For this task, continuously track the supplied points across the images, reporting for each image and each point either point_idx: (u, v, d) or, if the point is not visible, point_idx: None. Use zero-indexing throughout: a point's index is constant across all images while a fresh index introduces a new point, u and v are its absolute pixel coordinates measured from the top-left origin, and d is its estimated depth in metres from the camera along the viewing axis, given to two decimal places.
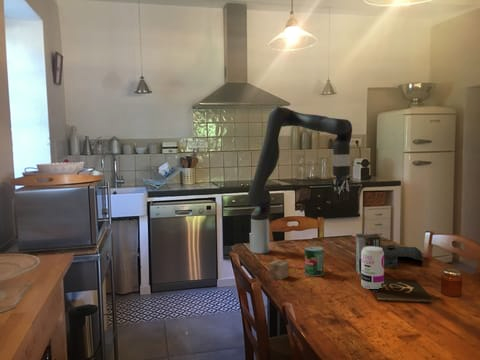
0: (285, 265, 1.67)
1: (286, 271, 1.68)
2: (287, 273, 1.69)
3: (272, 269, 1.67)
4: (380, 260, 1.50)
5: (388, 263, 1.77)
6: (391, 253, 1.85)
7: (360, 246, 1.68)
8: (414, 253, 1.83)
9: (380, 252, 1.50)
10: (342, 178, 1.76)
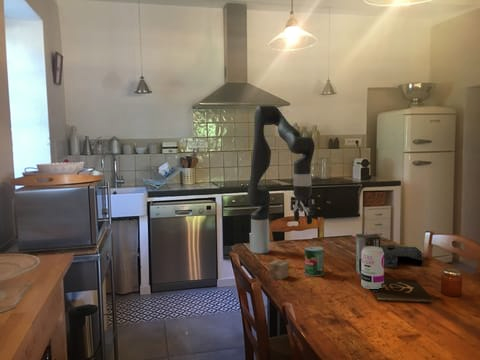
0: (285, 265, 1.67)
1: (286, 271, 1.68)
2: (287, 273, 1.69)
3: (272, 269, 1.67)
4: (380, 260, 1.50)
5: (388, 263, 1.77)
6: (391, 253, 1.85)
7: (360, 246, 1.68)
8: (414, 253, 1.83)
9: (380, 252, 1.50)
10: None
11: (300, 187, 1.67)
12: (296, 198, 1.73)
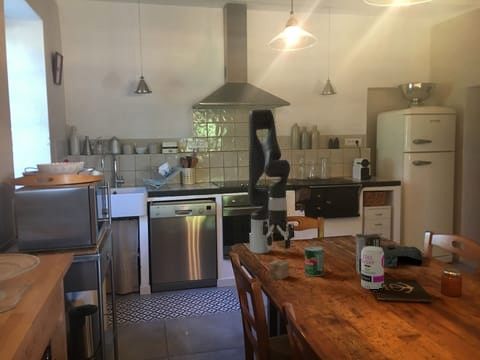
0: (285, 265, 1.67)
1: (286, 271, 1.68)
2: (287, 273, 1.69)
3: (272, 269, 1.67)
4: (380, 260, 1.50)
5: (387, 263, 1.78)
6: (391, 253, 1.85)
7: (360, 246, 1.68)
8: (414, 253, 1.84)
9: (380, 252, 1.50)
10: None
11: (278, 211, 1.63)
12: (270, 222, 1.68)
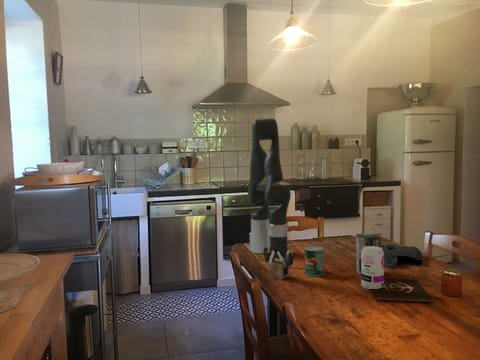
0: None
1: None
2: None
3: (272, 269, 1.67)
4: (380, 260, 1.50)
5: (387, 263, 1.78)
6: (391, 252, 1.86)
7: (360, 246, 1.68)
8: (414, 252, 1.84)
9: (380, 252, 1.50)
10: None
11: (279, 238, 1.64)
12: (271, 248, 1.69)
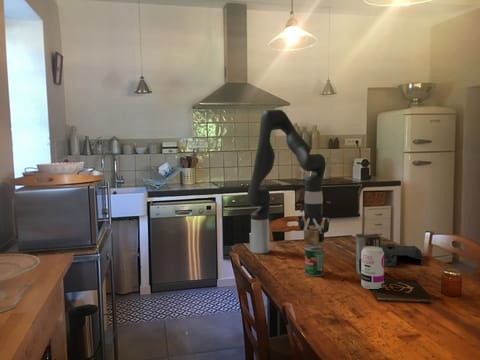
0: None
1: None
2: None
3: (308, 236, 1.69)
4: (380, 261, 1.50)
5: (387, 262, 1.79)
6: (390, 252, 1.87)
7: (360, 246, 1.68)
8: (413, 252, 1.85)
9: (380, 252, 1.50)
10: None
11: (315, 205, 1.66)
12: (306, 215, 1.71)
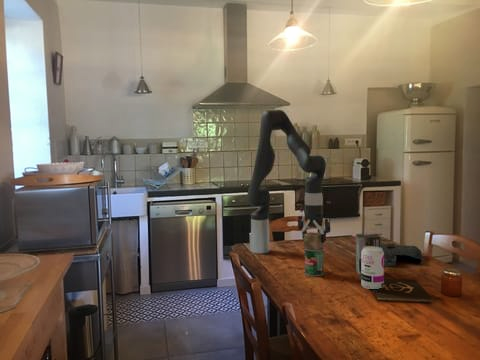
0: (320, 236, 1.69)
1: (320, 242, 1.70)
2: (322, 244, 1.71)
3: (307, 240, 1.69)
4: (380, 260, 1.50)
5: (387, 262, 1.80)
6: (390, 252, 1.87)
7: (360, 246, 1.68)
8: (413, 252, 1.85)
9: (380, 252, 1.50)
10: None
11: (315, 206, 1.66)
12: (306, 217, 1.71)
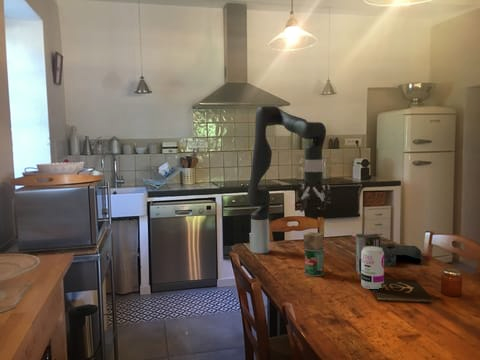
0: (320, 236, 1.69)
1: (320, 242, 1.70)
2: (322, 244, 1.71)
3: (307, 240, 1.69)
4: (380, 260, 1.50)
5: (386, 262, 1.80)
6: (390, 251, 1.87)
7: (360, 246, 1.68)
8: (413, 252, 1.86)
9: (380, 252, 1.50)
10: None
11: (315, 173, 1.65)
12: (306, 185, 1.70)
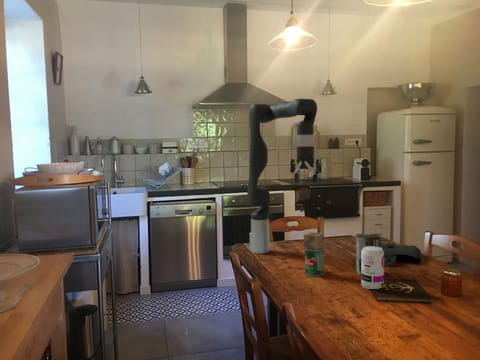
0: (320, 236, 1.69)
1: (320, 242, 1.70)
2: (322, 244, 1.71)
3: (307, 240, 1.69)
4: (380, 260, 1.50)
5: (386, 261, 1.80)
6: (390, 251, 1.88)
7: (360, 246, 1.68)
8: (413, 251, 1.86)
9: (380, 252, 1.50)
10: None
11: (306, 147, 1.71)
12: (298, 159, 1.76)
